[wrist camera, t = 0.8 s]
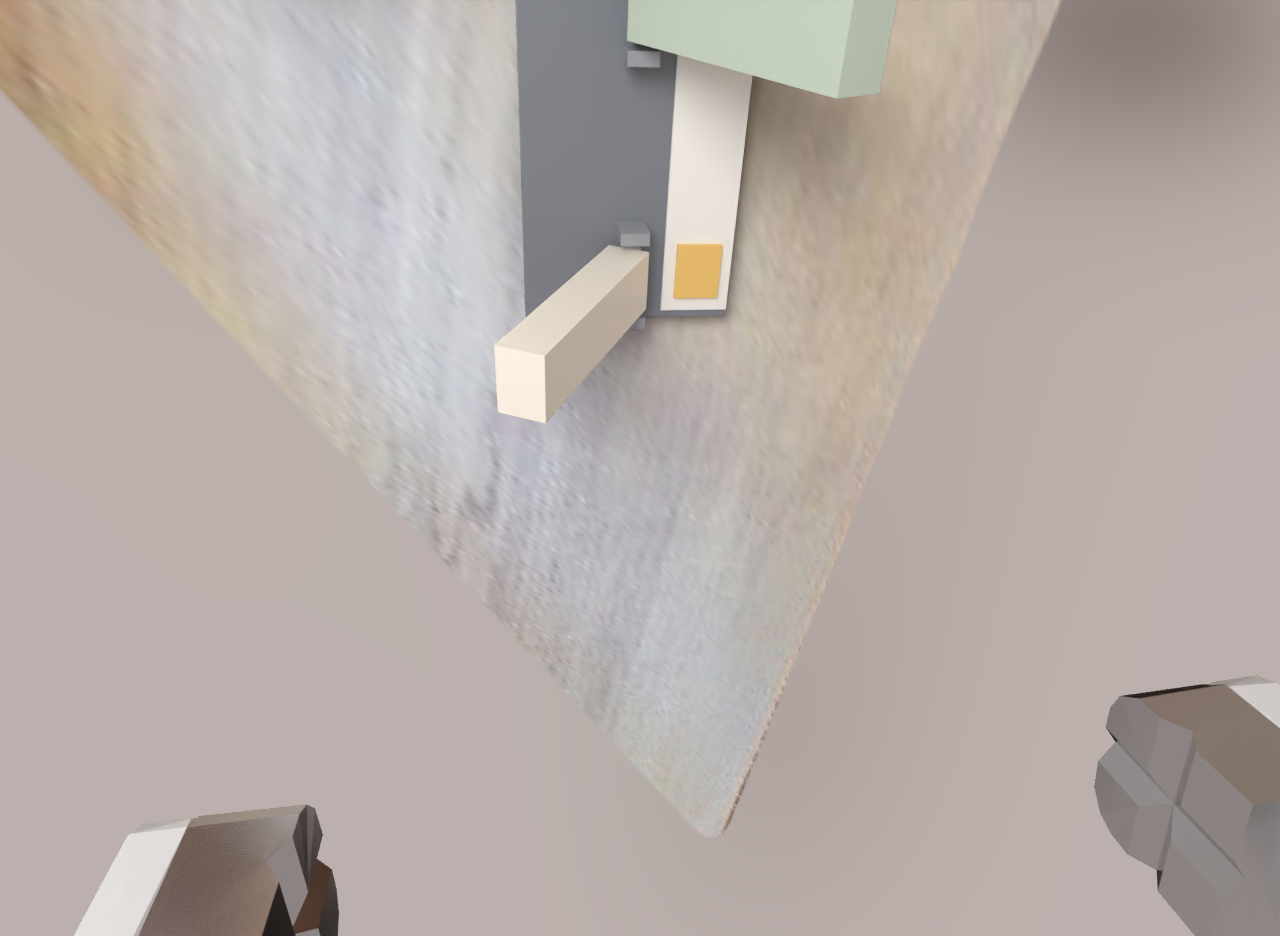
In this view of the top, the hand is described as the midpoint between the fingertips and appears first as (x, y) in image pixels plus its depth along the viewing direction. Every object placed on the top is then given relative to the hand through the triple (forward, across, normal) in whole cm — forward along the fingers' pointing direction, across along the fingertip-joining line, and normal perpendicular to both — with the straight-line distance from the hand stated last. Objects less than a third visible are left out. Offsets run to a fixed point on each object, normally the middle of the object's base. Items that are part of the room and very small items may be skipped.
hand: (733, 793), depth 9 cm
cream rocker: (+42, -4, +2) cm, 42 cm away
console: (+43, -5, -5) cm, 44 cm away
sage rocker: (+39, -5, -11) cm, 41 cm away
